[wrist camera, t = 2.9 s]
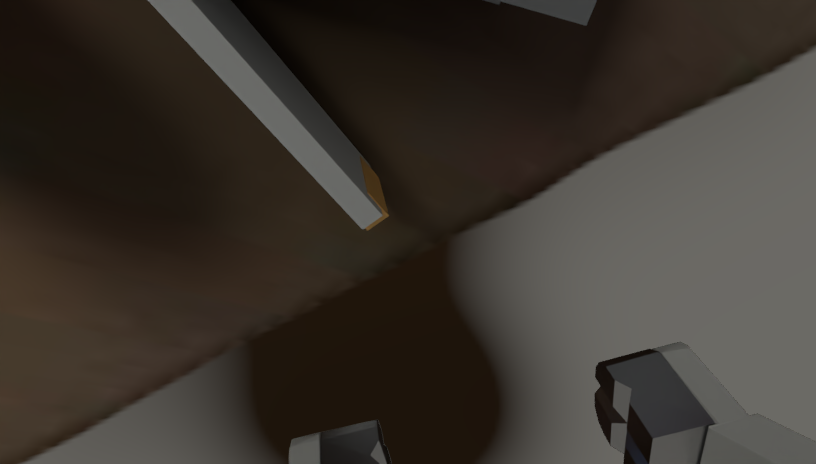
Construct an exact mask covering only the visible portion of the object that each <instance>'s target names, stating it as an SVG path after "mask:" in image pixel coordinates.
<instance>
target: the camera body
mask: <svg viewBox="0 0 816 464" xmlns="http://www.w3.org/2000/svg"><path fill="white" fill-rule="evenodd" d="M484 1H487V2H491V3H494V4H498V5H500V2H504V3H508V4H511V5H515V6H518V7H522V8H525V9H529V10H532V11H536V12H539V13H543V14H546V15H550V16H553V17H557V18H560V19H564V20H567V21H571V22H575V23H578V24H582V25H585V26H587V23H588V21H589V18H590V16H591V13H592V11H593V9H594V6H595V4H596V1H597V0H484Z"/></svg>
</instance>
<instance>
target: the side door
mask: <svg viewBox="0 0 816 464" xmlns="http://www.w3.org/2000/svg"><path fill="white" fill-rule="evenodd" d="M148 1H149V2H150V3H151V4H152V5H153V7H154V8H155V9H156V10H157V11H158V12H159V13H160V14H161V15H162V16H163V17H164V18H165V19H166V20H167V21H168V23H169V24H170V25H171V26H172V27H173V28H174V29H175V30H176V31H177V32H178V33H179V34H180V35H181V36H182V37H183V39H184V40H185V41H186V42H187V43H188V44H189V45H190V46H191V47H192V48H193V49H194V50H195V51H196V52H197V53H198V55H199V56H200V57H201V58H202V59H203V60H204V61H205V62H206V63H207V64H208V65H209V66H210V67H211V68H212V70H213V71H214V72H215V73H216V74H217V75H218V76H219V77H220V78H221V79H222V80H223V81H224V82H225V83H226V84H227V86H228V87H229V88H230V89H231V90H232V91H233V92H234V93H235V94H236V95H237V96H238V97H239V98H240V99H241V100H242V102H243V103H244V104H245V105H246V106H247V107H248V108H249V109H250V110H251V111H252V112H253V113H254V114H255V115H256V116H257V118H258V119H259V120H260V121H261V122H262V123H263V124H264V125H265V126H266V127H267V128H268V129H269V130H270V131H271V132H272V134H273V135H274V136H275V137H276V138H277V139H278V140H279V141H280V142H281V143H282V144H283V145H284V146H285V147H286V149H287V150H288V151H289V152H290V153H291V154H292V155H293V156H294V157H295V158H296V159H297V160H298V161H299V162H300V163H301V165H302V166H303V167H304V168H305V169H306V170H307V171H308V172H309V173H310V174H311V175H312V176H313V177H314V178H315V179H316V181H317V182H318V183H319V184H320V185H321V186H322V187H323V188H324V189H325V190H326V191H327V192H328V193H329V194H330V195H331V197H332V198H333V199H334V200H335V201H336V202H337V203H338V204H339V205H340V206H341V207H342V208H343V209H344V210H345V211H346V213H347V214H348V215H349V216H350V217H351V218H352V219H353V220H354V221H355V222H356V223H357V224H358V225H359V226H360V228H361V229H362V230H363V229H364V228H366V229H367V231H368V230H369V229H371V228H372V227H374V226H375V225H377V224H378V223H379V222H381V221H382V220H384V219H385V218H387V217H388V216H389V214H388V210H387V207H386V203H385V199H384V195H383V191H382V188H381V184H380V180H379V177H378V176H377V175H376V174H375V172H374V171H373V170H372V169H371V166H370V164H369V163H368V162H367V161H366V160H365V158H364V157H363V156H362V155H361V154H360V153H359V151H358V150H357V149H356V148H355V147H354V145H353V144H352V143H351V142H350V141H349V139H348V138H347V137H346V136H345V135H344V134H343V132H342V131H341V130H340V129H339V128H338V126H337V125H336V124H335V123H334V122H333V121H332V119H331V118H330V117H329V116H328V115H327V113H326V112H325V111H324V110H323V109H322V107H321V106H320V105H319V104H318V103H317V102H316V100H315V99H314V98H313V97H312V96H311V94H310V93H309V92H308V91H307V90H306V89H305V87H304V86H303V85H302V84H301V83H300V81H299V80H298V79H297V78H296V77H295V75H294V74H293V73H292V72H291V71H290V70H289V68H288V67H287V66H286V65H285V64H284V62H283V61H282V60H281V59H280V58H279V57H278V55H277V54H276V53H275V52H274V51H273V49H272V48H271V47H270V46H269V45H268V43H267V42H266V41H265V40H264V39H263V38H262V36H261V35H260V34H259V33H258V32H257V30H256V29H255V28H254V27H253V26H252V24H251V23H250V22H249V21H248V20H247V19H246V17H245V16H244V15H243V14H242V13H241V11H240V10H239V9H238V8H237V7H236V6H235V4H234V3H233V2H232V1H231V0H148Z"/></svg>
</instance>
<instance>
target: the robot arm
mask: <svg viewBox="0 0 816 464" xmlns="http://www.w3.org/2000/svg"><path fill="white" fill-rule="evenodd" d="M595 377H596V379H597V380H598V382H599V384H600V388H599V389H598V390H597V391H596V393H595V409H596V413H597V417H598V421H599V424H600V426H601V428H602V430H603V433H604V435H605V436H606V439H607V440H608V442H609V444H610V446H612V447H613V448H615V449H617V450H618V451H620V452H622V453H623V454H624V464H816V442H815V441H813V440H811V439H809V438H807V437H805V436H803V435H801V434H799V433H797V432H795V431H793V430H791V429H788V428H786V427H784V426H782V425H780V424H778V423H776V422H774V421H772V420H770V419H768V418H766V417H764V416H762V415H759V414H754V415H748V414H747V413H746V412H745V410H744V409H743V408H742V407H741V406H740V405H739V404H738V402H736V400H735V399H734V398H733V397H732V396H731V394H730V393H729V392H728V391H727V390H726V389H725V388H724V386H722V384H721V383H720V382H719V381H718V380H717V378H716V377H715V376H714V375H713V374H712V373H711V372H710V370H709V369H708V368H707V367H706V366H705V365H704V364H703V362H702V361H701V360H700V359H699V358H698V357H697V356H696V354H695V353H694V352H693V351H692V350H691V349H690V348H689V346H688V345H686V344H684V343H682V342H677V343H673V344H670V345H666V346H662V347H658V348H654V349H647V350H643V351H640V352H636V353H632V354H629V355H625V356H621V357H617V358H614V359H610V360H606V361H602V362H599V363H598V365H597V366H596V374H595ZM289 464H392V463H391V459H390V455H389V452H388V449H387V446H385V445H384V441H383V435H382V430H381V427H380V424H379V421H378V420H374V421H369V422H365V423H360V424H355V425H351V426H347V427H342V428H338V429H333V430H329V431H325V432H320V433H316V434H311V435H307V436H303V437H300V438H295V439H292V442H291V445H290V449H289Z"/></svg>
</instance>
